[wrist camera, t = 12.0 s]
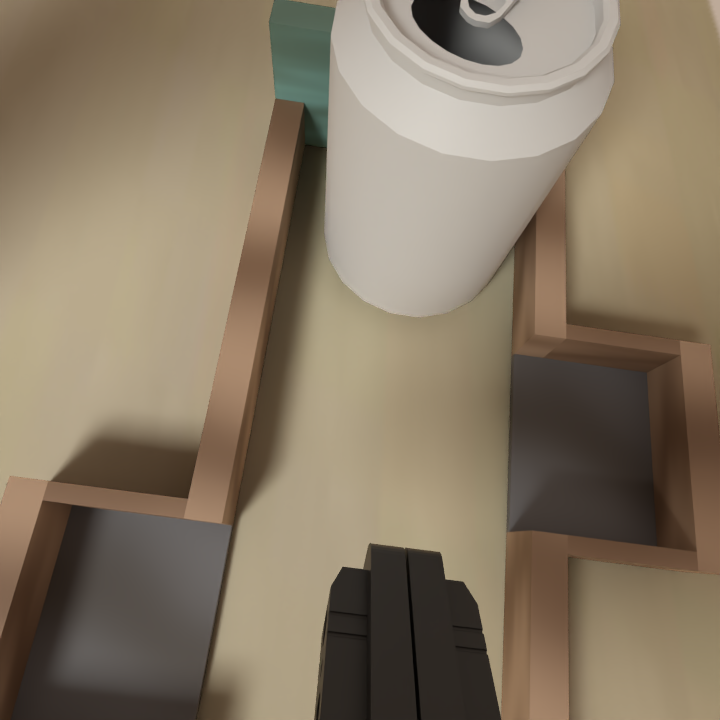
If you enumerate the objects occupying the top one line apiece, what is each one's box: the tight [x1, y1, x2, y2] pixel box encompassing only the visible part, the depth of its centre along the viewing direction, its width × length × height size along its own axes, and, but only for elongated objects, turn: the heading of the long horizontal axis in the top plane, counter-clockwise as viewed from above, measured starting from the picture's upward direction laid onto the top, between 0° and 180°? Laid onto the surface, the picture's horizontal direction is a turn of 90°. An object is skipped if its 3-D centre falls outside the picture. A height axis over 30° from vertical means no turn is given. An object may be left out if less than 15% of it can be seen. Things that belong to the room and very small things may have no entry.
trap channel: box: [0, 0, 720, 720], centre depth 17 cm, size 35×24×6 cm
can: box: [324, 0, 620, 317], centre depth 18 cm, size 8×8×12 cm
